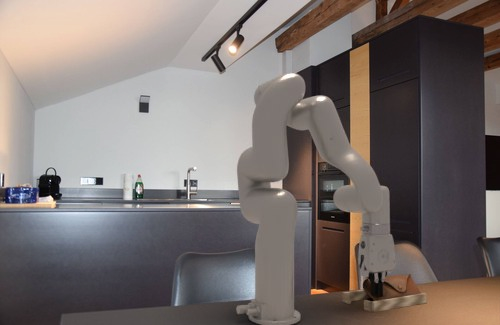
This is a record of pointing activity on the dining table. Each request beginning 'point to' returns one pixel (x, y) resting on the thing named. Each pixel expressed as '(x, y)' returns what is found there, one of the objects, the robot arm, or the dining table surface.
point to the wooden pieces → (383, 301)
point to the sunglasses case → (394, 287)
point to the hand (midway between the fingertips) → (376, 295)
